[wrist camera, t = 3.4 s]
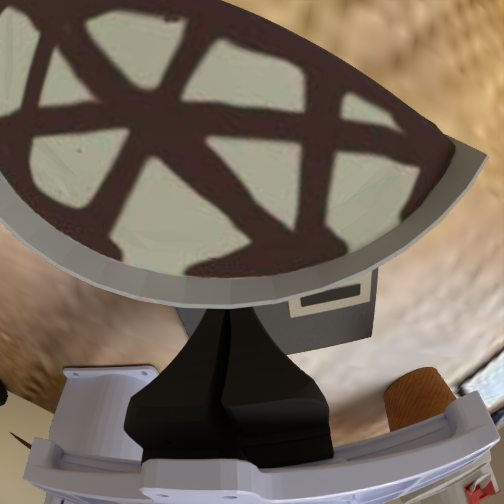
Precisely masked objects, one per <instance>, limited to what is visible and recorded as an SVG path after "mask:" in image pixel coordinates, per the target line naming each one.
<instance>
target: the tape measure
mask: <svg viewBox="0 0 504 504" xmlns="http://www.w3.org/2000/svg"><path fill="white" fill-rule="evenodd" d="M7 397H8V395H7V391H6V389H5V388H4V387H3V386H2V385H1V384H0V406H2V405H4V404H5V402H6V400H7Z"/></svg>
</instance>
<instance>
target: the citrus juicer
mask: <svg viewBox="0 0 504 504" xmlns="http://www.w3.org/2000/svg"><path fill="white" fill-rule="evenodd" d="M500 491H501V490H499V488H498V485H497V482H496V479H495V477H494V474H493V471H492V469H491V466H490V463H488V464H487V465H485V466H484V467H483V468H481V469H480V470H478V471H477V472H475V473H474V474H472V475H470V476H469V477H467V478H465V479H464V480H462V481H460V482H458V483H457V484H455V485H453V486H451V487H449V488H447V489H445V490H443V491H441V492H438V493H436V494H434V495H432V496H429V497H427V498H424V499H422V500H420V502H421V504H479V502H481V501H483V500H484V499H486V498H488V497H490V496H492V495H495V494H497V493H499V492H500Z"/></svg>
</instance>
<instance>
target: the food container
mask: <svg viewBox="0 0 504 504" xmlns="http://www.w3.org/2000/svg"><path fill="white" fill-rule="evenodd" d="M488 159H489V156H488V155H486V154H484V153H483V152H481V151H479V150H477V149H475V148H473V147H471V146H469V145H467V144H464V143H462V142H460V141H458V140H456V139H454V138H452V137H449V136H447V135H445V134H443V133H442V132H441V131H440V129H439V128H438V127H437V126H436V125H435V124H434V123H433V122H431V121H429V120H428V119H426V118H424V117H423V116H421V115H420V114H419V113H417V112H416V111H415V110H413V109H412V108H411V107H409V106H408V105H407V104H405V103H404V102H402V101H401V100H400V99H399V98H397V97H396V96H395V95H393V94H392V93H391V92H389V91H388V90H386V89H385V88H384V87H382V86H381V85H379V84H378V83H377V82H375V81H374V80H372V79H371V78H369V77H368V76H366V75H365V74H363V73H362V72H360V71H359V70H357V69H356V68H354V67H353V66H351V65H350V64H348V63H346V62H345V61H343V60H342V59H340V58H338V57H337V56H335V55H333V54H332V53H330V52H328V51H326V50H325V49H323V48H321V47H319V46H318V45H316V44H314V43H312V42H310V41H308V40H307V39H305V38H303V37H301V36H299V35H297V34H295V33H293V32H291V31H290V30H288V29H286V28H284V27H282V26H280V25H278V24H275V23H273V22H271V21H269V20H267V19H265V18H263V17H261V16H258V15H256V14H254V13H251V12H249V11H247V10H244V9H242V8H240V7H237V6H235V5H232V4H229V3H227V2H224V1H222V0H0V222H1V223H2V224H3V225H4V226H5V227H6V228H7V229H8V230H9V231H10V232H11V233H12V234H13V235H14V236H15V237H16V238H17V239H18V240H20V241H21V242H22V243H23V244H24V245H25V246H26V247H28V248H29V249H31V250H32V251H33V252H35V253H36V254H38V255H39V256H40V257H42V258H43V259H45V260H46V261H48V262H49V263H50V264H52V265H53V266H55V267H56V268H58V269H60V270H62V271H64V272H66V273H68V274H70V275H72V276H74V277H76V278H78V279H80V280H82V281H84V282H86V283H88V284H90V285H93V286H95V287H97V288H100V289H103V290H106V291H110V292H113V293H116V294H119V295H122V296H125V297H129V298H132V299H135V300H139V301H145V302H150V303H156V304H162V305H169V306H175V307H181V308H211V309H233V308H242V307H251V306H260V305H268V304H276V303H281V302H285V301H289V300H293V299H297V298H301V297H305V296H308V295H312V294H316V293H320V292H323V291H326V290H329V289H331V288H333V287H336V286H338V285H341V284H343V283H346V282H348V281H350V280H353V279H355V278H358V277H360V276H362V275H365V274H367V273H369V272H371V271H372V270H374V269H376V268H377V267H379V266H381V265H382V264H384V263H386V262H388V261H389V260H391V259H393V258H394V257H396V256H397V255H399V254H401V253H402V252H404V251H406V250H407V249H408V248H410V247H411V246H412V245H413V244H415V243H416V242H417V241H418V240H420V239H421V238H422V237H423V236H424V235H426V234H427V233H428V232H429V231H430V230H432V229H433V228H434V227H435V226H436V225H438V224H439V223H440V222H441V221H442V220H443V219H444V218H445V217H446V216H447V214H448V213H449V212H450V211H451V210H452V209H453V208H454V207H455V205H456V204H457V203H458V202H459V201H460V200H461V198H462V197H463V196H464V195H465V194H466V193H467V191H468V190H469V189H470V187H471V186H472V184H473V183H474V181H475V180H476V178H477V177H478V175H479V173H480V172H481V170H482V169H483V167H484V165H485V164H486V162H487V160H488Z"/></svg>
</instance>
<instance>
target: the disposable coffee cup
mask: <svg viewBox="0 0 504 504" xmlns="http://www.w3.org/2000/svg"><path fill="white" fill-rule="evenodd" d="M454 400H456V397H455V396H454V394H453V393H452V391H451V390H450V388H449V387H448V386H447V384H446V383H445V381H444V380H443V378H442V377H441V375H440V374H439V373H438V371H437V370H436V369H435V368H432V367H428V368H422V369H418V370H416V371H413V372H411V373H409V374H407V375H405V376H403V377H402V378H400V379H399V380H397V381H396V382H395V383H393V384H392V385H391V386H390V387H389V388H388V390H387V391H386V392H385V394H384V402H385V407H386V412H387V417H388V422H389V428H390V432H393V431H396V430H399V429H402V428H405V427H408V426H410V425H413V424H416V423H419V422H421V421H424V420H427V419H429V418H432V417H434V416H437V415H439V414H442V413H444V412H445V410H446V408H447V406H448V405H449V404H450V403H451V402H453V401H454ZM490 461H491V455H490V449H489V450H488V451H487V452H486V453H485V454H483V455H482V456H481V457H480V458H479V459H478V460H476V461H475V462H474V463H472V464H470V465H468V466H466V467H465V468H463V469H461V470H459V471H457V472H455V473H453V474H451V475H449V476H447V477H444V478H442V479H440V480H438V481H436V482H434V483H432V484H429V485H427V486H425V487H423V488H420V489H418V490H416V491H413V492H411V493H408V494H406V495H403V496H401V497H400V499H401V501H402V502H403V504H410V503H413V502H416V501H419V500H422V499H424V498H427V497H429V496H432V495H434V494H436V493H438V492H441V491H443V490H445V489H447V488H449V487H451V486H453V485H455V484H457V483H458V482H460V481H462V480H464V479H465V478H467V477H469V476H470V475H472V474H474V473H475V472H477V471H478V470H480V469H481V468H483V467H484V466H485V465H487V464H488V463H489V462H490Z"/></svg>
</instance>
